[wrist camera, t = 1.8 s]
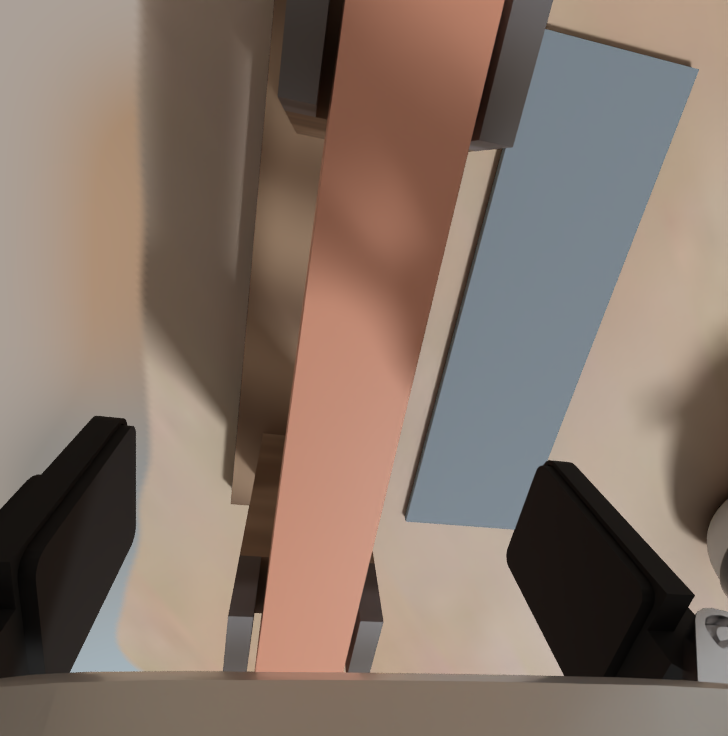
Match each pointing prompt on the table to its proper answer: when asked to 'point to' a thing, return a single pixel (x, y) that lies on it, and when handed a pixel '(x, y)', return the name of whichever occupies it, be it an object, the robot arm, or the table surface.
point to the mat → (544, 272)
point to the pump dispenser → (719, 544)
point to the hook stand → (290, 263)
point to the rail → (367, 303)
